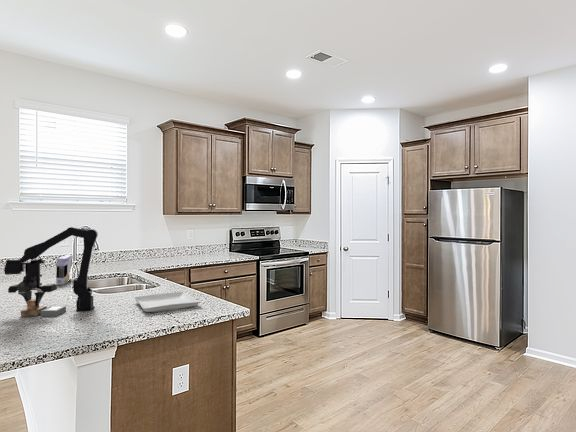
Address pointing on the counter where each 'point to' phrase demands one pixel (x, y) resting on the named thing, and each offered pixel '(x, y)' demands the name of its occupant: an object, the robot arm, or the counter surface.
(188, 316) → the counter surface
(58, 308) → the board
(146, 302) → the square plate
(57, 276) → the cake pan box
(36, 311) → the block on square base
